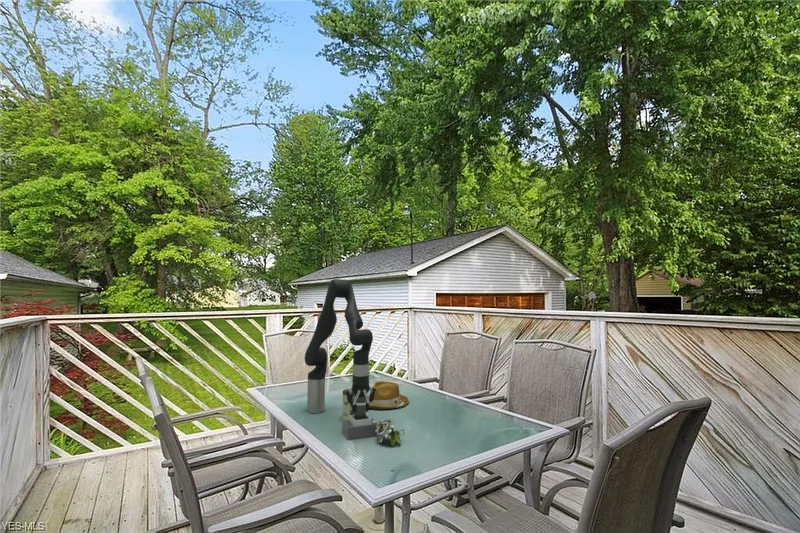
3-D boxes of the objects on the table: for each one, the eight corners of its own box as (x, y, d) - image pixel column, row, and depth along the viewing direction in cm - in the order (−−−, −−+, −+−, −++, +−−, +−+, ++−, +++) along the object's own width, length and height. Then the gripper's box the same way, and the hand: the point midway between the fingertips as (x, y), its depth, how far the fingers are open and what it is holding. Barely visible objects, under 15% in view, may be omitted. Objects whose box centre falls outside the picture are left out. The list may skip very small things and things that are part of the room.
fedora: (349, 404, 224) (350, 383, 225) (384, 394, 246) (384, 375, 247) (384, 414, 207) (384, 391, 207) (418, 402, 229) (418, 382, 229)
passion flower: (379, 456, 168) (368, 428, 173) (401, 445, 173) (389, 419, 179) (388, 448, 160) (376, 420, 165) (410, 438, 165) (398, 411, 171)
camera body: (342, 432, 180) (342, 415, 180) (371, 428, 185) (371, 412, 186) (347, 440, 171) (347, 422, 171) (378, 435, 176) (378, 418, 176)
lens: (353, 417, 180) (353, 395, 180) (364, 416, 182) (364, 394, 182) (356, 420, 175) (356, 397, 176) (367, 419, 177) (367, 396, 177)
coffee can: (365, 416, 202) (365, 388, 203) (359, 423, 192) (359, 393, 193) (346, 415, 204) (346, 387, 205) (339, 421, 194) (339, 392, 195)
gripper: (373, 371, 186) (373, 408, 185) (343, 373, 180) (342, 411, 179) (378, 374, 179) (378, 412, 178) (347, 376, 173) (346, 416, 172)
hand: (360, 411), depth 178 cm, fingers closed on lens, 5 cm apart
